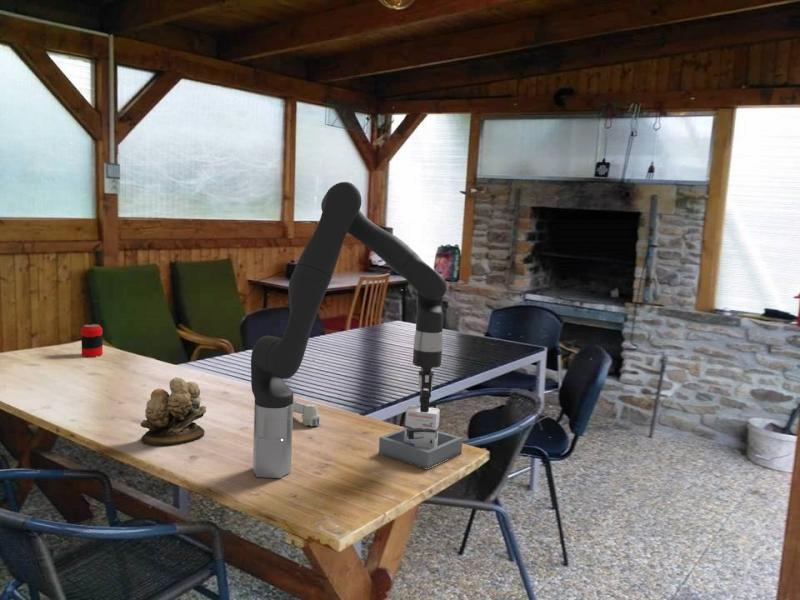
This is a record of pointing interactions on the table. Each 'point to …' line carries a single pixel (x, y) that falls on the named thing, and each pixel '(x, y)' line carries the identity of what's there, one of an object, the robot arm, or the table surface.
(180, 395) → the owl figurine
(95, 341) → the soda can
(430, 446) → the ink box
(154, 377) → the table surface
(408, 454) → the walled crate
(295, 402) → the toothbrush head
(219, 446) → the table surface
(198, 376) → the table surface
